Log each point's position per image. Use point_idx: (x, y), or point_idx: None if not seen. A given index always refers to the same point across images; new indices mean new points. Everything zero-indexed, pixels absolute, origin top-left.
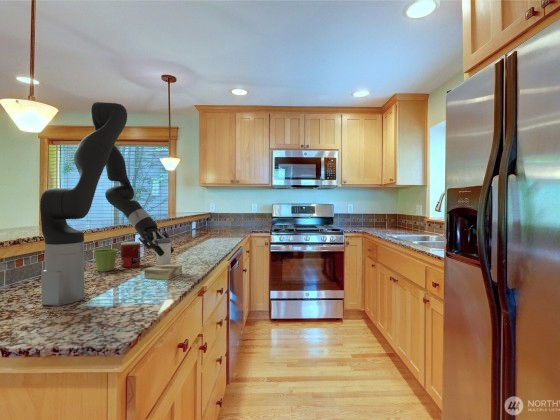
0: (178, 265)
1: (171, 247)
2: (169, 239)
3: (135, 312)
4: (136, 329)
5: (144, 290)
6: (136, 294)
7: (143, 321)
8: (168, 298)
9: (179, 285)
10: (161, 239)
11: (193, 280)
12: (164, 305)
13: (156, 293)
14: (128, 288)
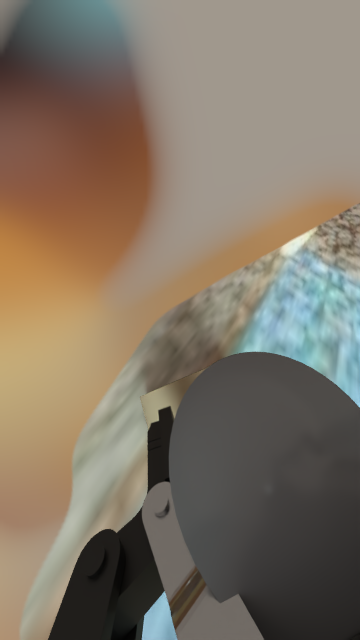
0: (152, 403)
1: (166, 429)
2: (229, 358)
3: (346, 246)
4: (348, 214)
5: (314, 325)
6: (336, 313)
7: (339, 222)
8: (285, 257)
9: (231, 299)
10: (328, 401)
11: (183, 307)
12: (301, 241)
13: (295, 290)
14: (354, 376)
